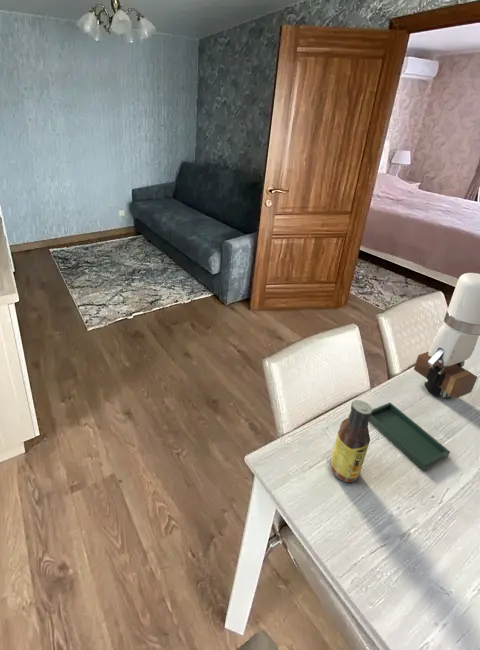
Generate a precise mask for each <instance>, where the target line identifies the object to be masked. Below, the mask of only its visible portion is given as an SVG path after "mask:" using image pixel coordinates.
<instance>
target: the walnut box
mask: <svg viewBox="0 0 480 650" xmlns="http://www.w3.org/2000/svg"><path fill="white" fill-rule="evenodd" d="M428 353H429V351H426V352H424V353H423V352H422V353H420V354H418V355H417V358H416V361H415V363H414V367H413V371H415V372H416V373H417V374H419V375H421V376H422V377H424V378H425V379H426V378H427V375H428V372H429V370H430V368H429V367H430V366H429V364H428V361H429V360H430V359H431V358H432V357H430V356H429V355H428ZM440 360H442V361H443V359H442V358H441V359H440ZM443 362H444V361H443ZM437 366H439V367H440V369H441V367H442V364H440V363H439V362H438V363H437ZM443 374H444V377H443V380H442V382H441V385H440V386H439V387H440V388H441V389H442V390H444V391H445V392H446V393H448V394H449V395H450V397H452V398H454V399H455V400H456V399H459V398H462V397H463V396H466V395H469V394H471V393H472V391H473V389H474V387H475V385H476V382H477V380H478V376H477V375H475V374H473V373H472V372H471V371H469V370H468V369H465V368H464V367H460V366H459V365H457V364H454V365H451V366H447V368H446V369H445V371H444V372H443Z"/></svg>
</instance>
